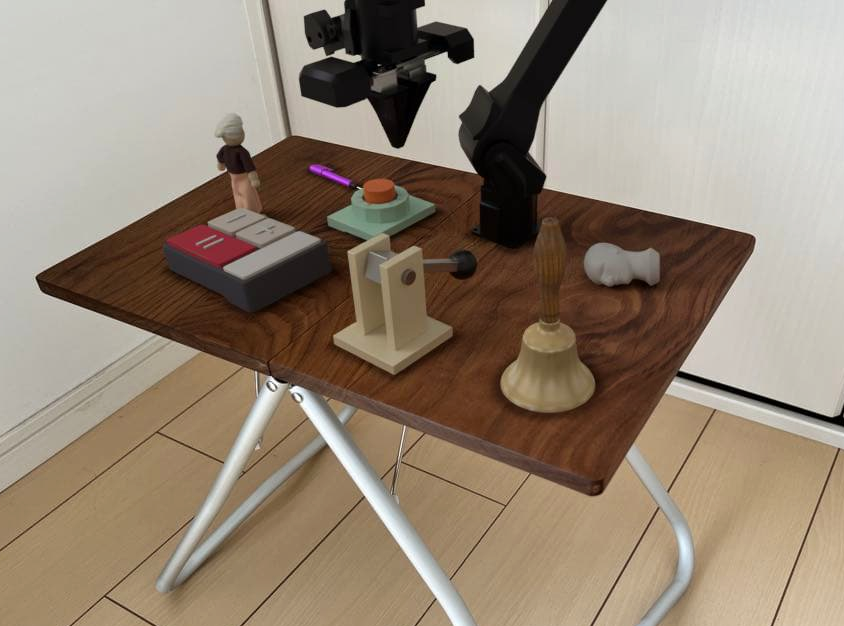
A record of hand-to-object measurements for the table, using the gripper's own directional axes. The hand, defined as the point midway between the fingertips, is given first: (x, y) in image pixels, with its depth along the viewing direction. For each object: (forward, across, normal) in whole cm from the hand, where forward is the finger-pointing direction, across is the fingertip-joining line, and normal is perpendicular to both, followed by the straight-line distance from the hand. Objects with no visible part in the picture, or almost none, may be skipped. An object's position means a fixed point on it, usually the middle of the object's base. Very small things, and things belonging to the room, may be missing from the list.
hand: (397, 147), depth 90 cm
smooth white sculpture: (+12, -8, +23) cm, 27 cm away
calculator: (+12, +15, -9) cm, 21 cm away
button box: (+12, -3, -7) cm, 14 cm away
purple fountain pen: (+12, -8, -17) cm, 22 cm away
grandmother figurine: (+12, +7, -20) cm, 24 cm away
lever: (+7, +9, +12) cm, 17 cm away
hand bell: (+12, +10, +28) cm, 32 cm away
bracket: (+12, +14, +12) cm, 22 cm away
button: (+9, -3, -7) cm, 12 cm away
